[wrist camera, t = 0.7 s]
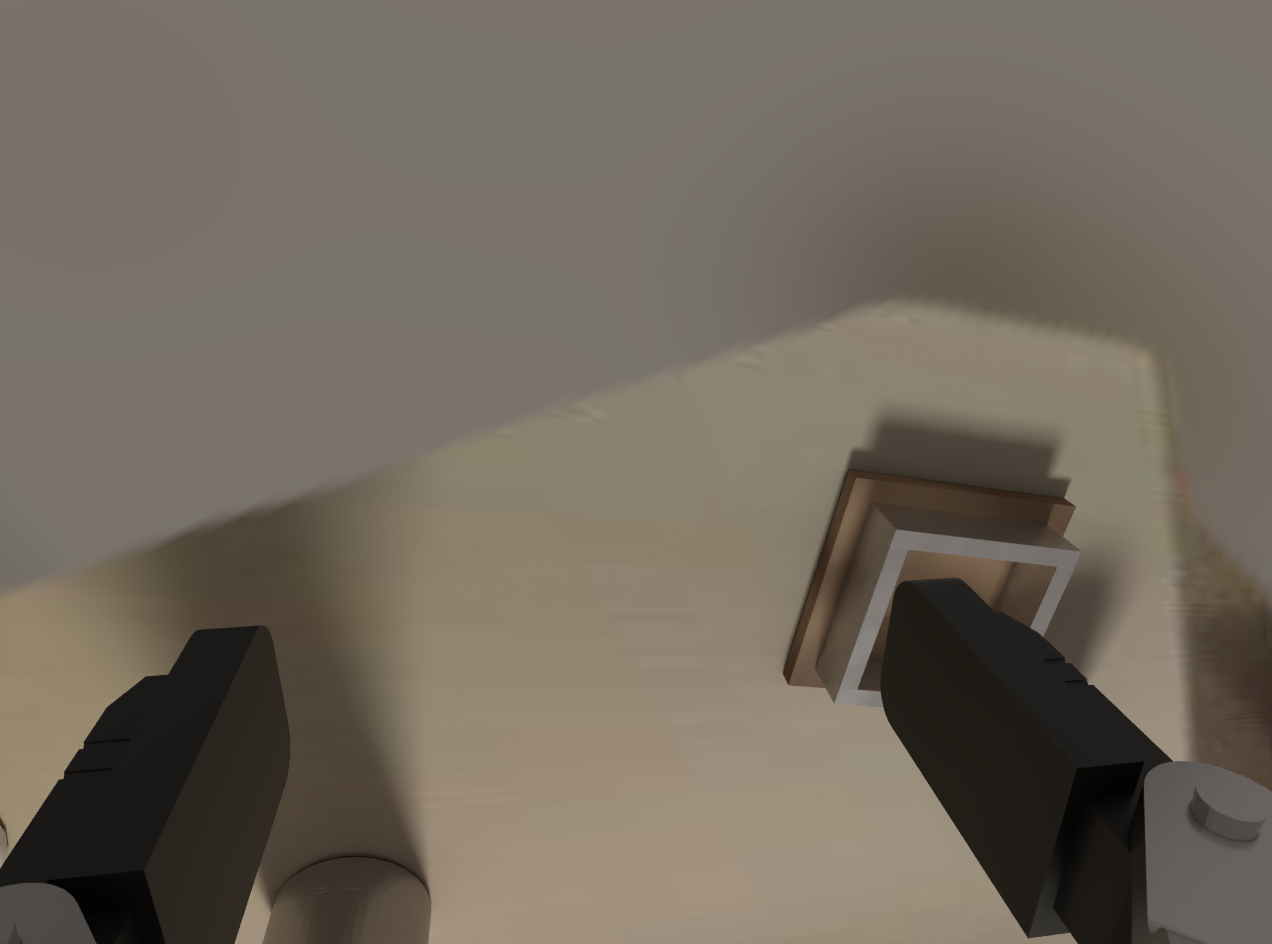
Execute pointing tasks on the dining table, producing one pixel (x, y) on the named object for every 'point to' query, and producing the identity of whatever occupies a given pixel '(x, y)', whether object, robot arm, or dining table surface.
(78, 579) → the dining table surface
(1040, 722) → the robot arm
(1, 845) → the bottle
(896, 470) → the dining table surface
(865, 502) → the socket board
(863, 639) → the collar
